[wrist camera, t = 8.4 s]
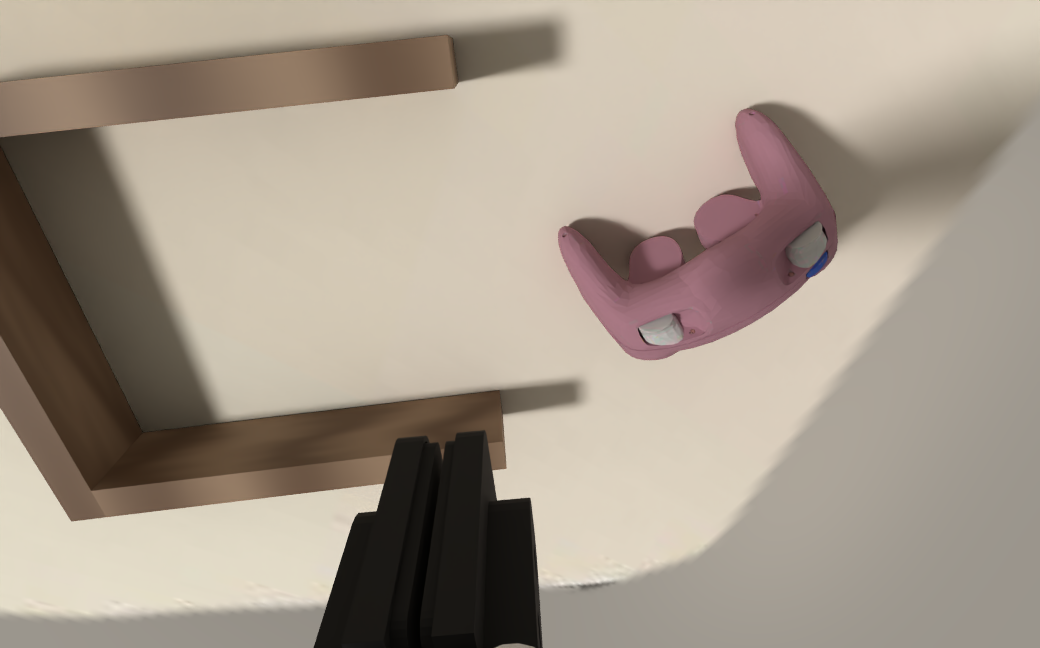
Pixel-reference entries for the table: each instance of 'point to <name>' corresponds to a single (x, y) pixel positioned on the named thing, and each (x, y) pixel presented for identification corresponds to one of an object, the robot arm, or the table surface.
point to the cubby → (81, 363)
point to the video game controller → (716, 256)
